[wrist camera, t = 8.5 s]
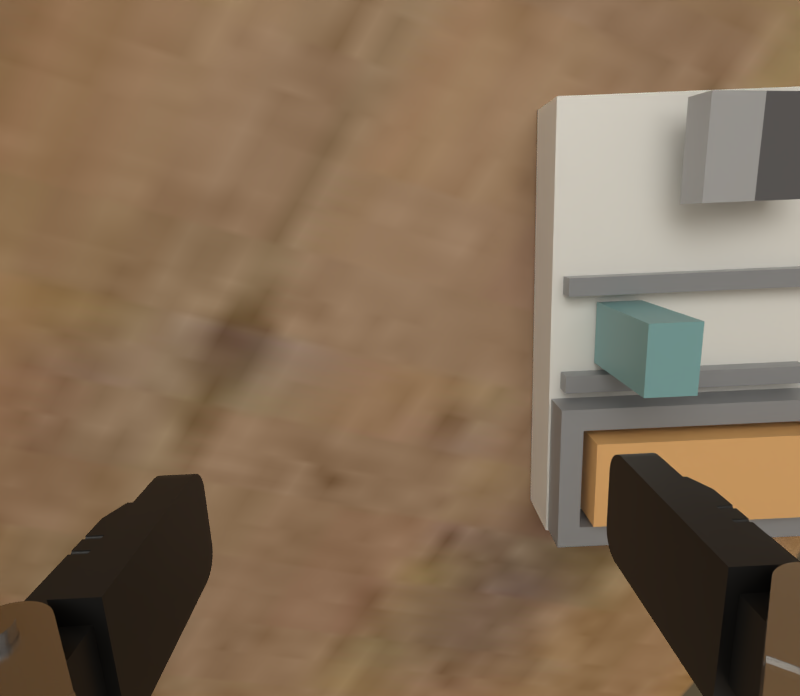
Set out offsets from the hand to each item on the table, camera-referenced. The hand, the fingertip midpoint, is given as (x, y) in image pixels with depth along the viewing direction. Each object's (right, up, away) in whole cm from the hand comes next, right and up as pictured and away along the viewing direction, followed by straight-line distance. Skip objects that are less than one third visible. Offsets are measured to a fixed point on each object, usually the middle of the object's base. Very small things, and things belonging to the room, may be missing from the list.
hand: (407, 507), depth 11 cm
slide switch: (+10, +4, +14) cm, 17 cm away
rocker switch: (+13, +11, +11) cm, 21 cm away
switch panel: (+14, +5, +17) cm, 22 cm away
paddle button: (+14, -2, +15) cm, 21 cm away
